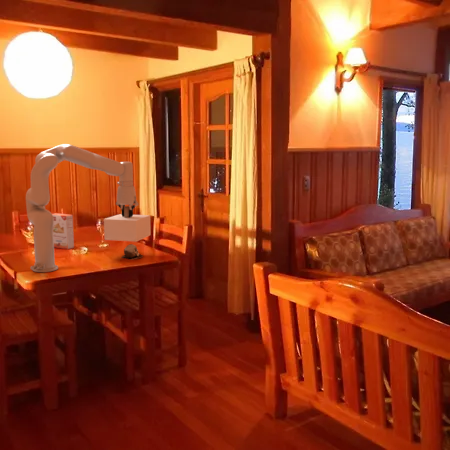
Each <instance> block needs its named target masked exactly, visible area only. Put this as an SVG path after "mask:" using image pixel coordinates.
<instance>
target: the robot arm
mask: <svg viewBox="0 0 450 450" xmlns="http://www.w3.org/2000/svg"><path fill="white" fill-rule="evenodd" d="M63 161H67V162H70V163H73V164H76V165H78V166H81V167H84V168H87V169H91V170H97V171H101V172H104V173H105V174H107V175H108V176H113V177H118V179H119V181H117V185H118V187H117V191H116V192H117V193H116V202H115V205H116V206H118V208H120V211H121V214H122V217H124V206H129V208H130V210H129V217H132V216H133V215H134V209H135V208H136V207H137V206H139V205H140V204H139V202H138V200H137V194H136V193H137V192H136V188H135V186H134V176H133V175H134V172H133V171H134V168H133V167H134V166H133V162H131V161H120V162H119V161H118V160H114V159H111V158H110V157H109V158H108V157H106V156H102V155H100V154H97V153H94V152H92V151H89V150H87V149H85V148H81V147H78V146H75V145H74V144H73V145H72V144H69V143H61V144H59V145H56V146H54V147H51V148H49V149H46V150H44V151H41V152H40V153H39V154H37V155H36V156H35V163H34V165H33V167H32V169H31V171H30V188H28V189H27V191H26V193H25V205H26V206H25V207H26V216H27V219H28V222H30V224H32V225H33V246H34V247H33V249H34V258H35V259H34V265H31V266H30V270H31V271H33V272H35V273H50V272H54V271H57V270H59V265H56V263H55V261H56V260H55V247H54V239H53V225H54V218H53V215H52V214H53V213H52V212H51V211H50V210H48V209H46V206H47V205H48V204H49V202H50V199H51V195H50V187H49V186H50V185H49V184H50V183H49V182H50V181H49V179H50V177H49V176H50V174H51V172H52V171H53V170H55V169H56V168H57V167H58V165H59V164H61V162H63Z"/></svg>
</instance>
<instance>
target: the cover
mask: <svg viewBox="0 0 450 450" xmlns="http://www.w3.org/2000/svg"><path fill="white" fill-rule="evenodd" d="M129 210H130V208H129V205H125V206H124V217H122V213H120V214H116V215H112V216H108V217H106V218H103V229H104V230H103V233H104V240H105V241H116V242H117V241H119V242H120V241H121V242H139V241H141V240H143V239H146V238H147V237H149V236H151V235H152V234H151V233H152V232H151V229H152V227H151V215H149V214H148V215H147V214H133V216H132V217H129Z"/></svg>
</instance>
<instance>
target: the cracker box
mask: <svg viewBox="0 0 450 450" xmlns="http://www.w3.org/2000/svg"><path fill="white" fill-rule="evenodd" d="M52 215H53V218H54V225H53V239H54V249H56V248H57V249H62V250H71V249H74V248H75V235H74V233H75V232H74V218H73V217H74V216H73V214H68V213H67V214H66V213H59V212H58V213H52Z"/></svg>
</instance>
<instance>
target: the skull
mask: <svg viewBox="0 0 450 450" xmlns="http://www.w3.org/2000/svg"><path fill="white" fill-rule="evenodd" d="M143 257H144V255H143V254H142V253H141V254H140V253H139V249H138V247H137V246H136V245H135V244H132V243H130V244H128V245H126V247H124V249H123V255H122V256H121V259H127V260H138V259H141V258H143Z"/></svg>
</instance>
